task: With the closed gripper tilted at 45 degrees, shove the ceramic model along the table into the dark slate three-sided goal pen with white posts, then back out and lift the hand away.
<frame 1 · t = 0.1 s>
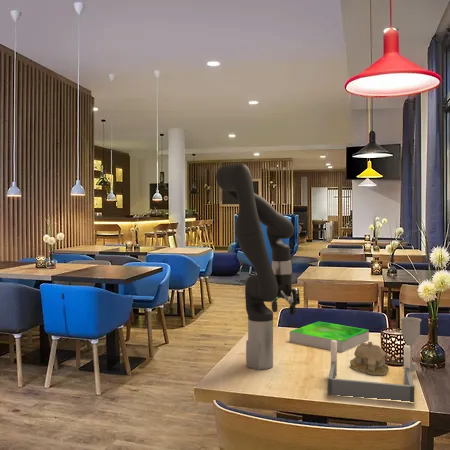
hand: (283, 313, 191), 17 cm above the table, tool pointing down, fingers open, 8 cm apart
goal pen: (369, 387, 160), on the table
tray: (329, 342, 217), on the table
ceramic model: (369, 370, 178), on the table
chalice: (410, 369, 179), on the table
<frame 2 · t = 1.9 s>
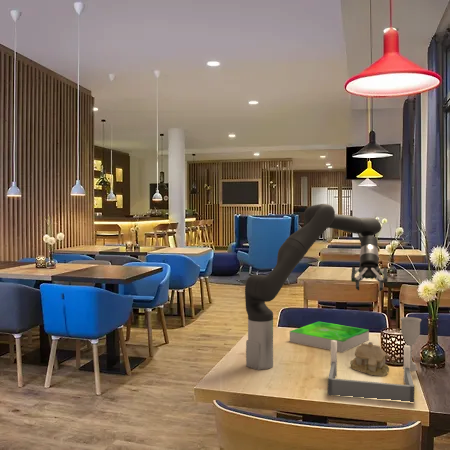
hand: (369, 289, 199), 25 cm above the table, tool tilted 45°, fingers open, 8 cm apart
nothing on the table moved.
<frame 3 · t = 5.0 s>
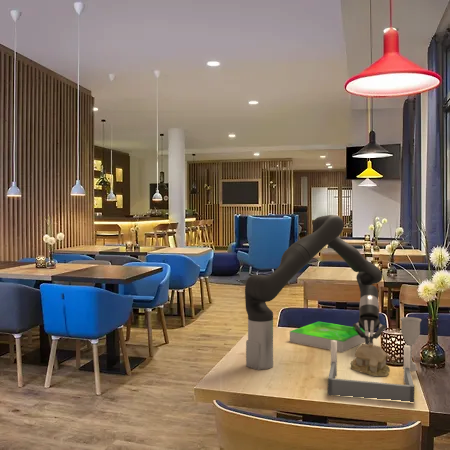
hand: (369, 346, 191), 5 cm above the table, tool tilted 45°, fingers closed
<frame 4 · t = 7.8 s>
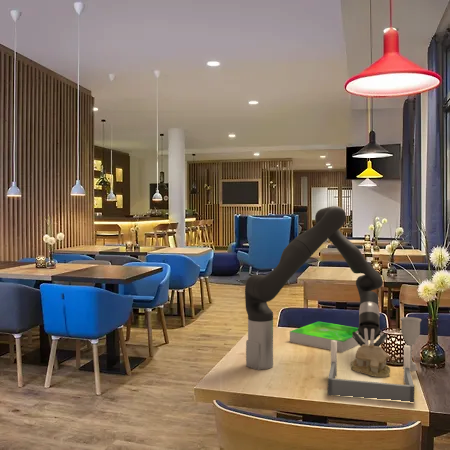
hand: (369, 356, 181), 4 cm above the table, tool tilted 45°, fingers closed
ceramic model: (370, 372, 176), on the table, touching gripper
everything else where it was.
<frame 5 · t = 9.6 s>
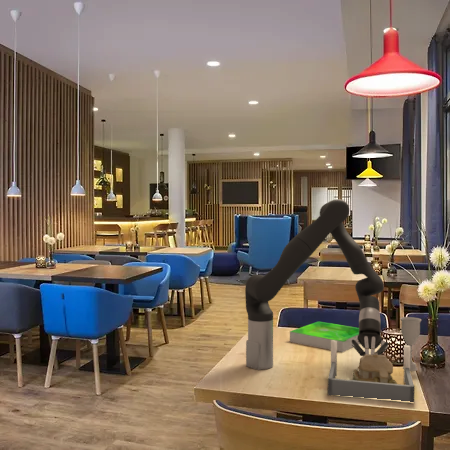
hand: (369, 366, 169), 4 cm above the table, tool tilted 45°, fingers closed
ceramic model: (374, 383, 165), on the table, touching gripper
everything else where it was.
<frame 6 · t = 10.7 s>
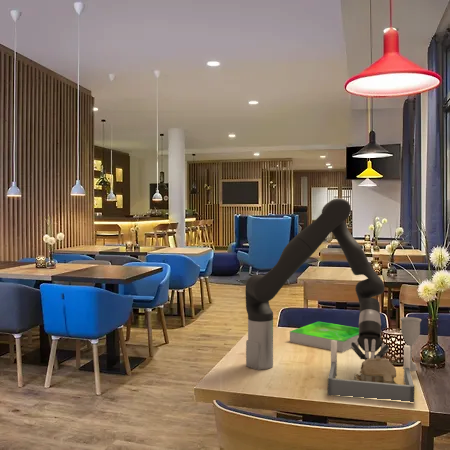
hand: (369, 370, 165), 4 cm above the table, tool tilted 45°, fingers closed
ceramic model: (377, 387, 161), on the table
everything else where it was.
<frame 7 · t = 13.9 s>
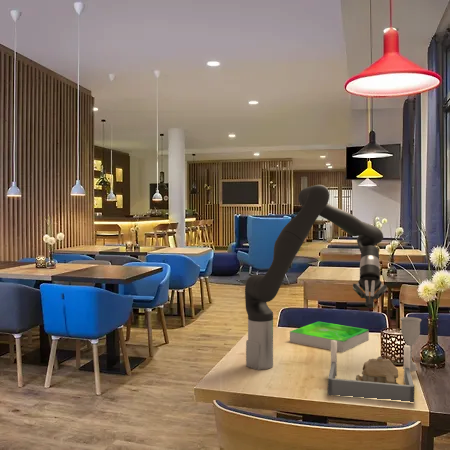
hand: (369, 306, 182), 22 cm above the table, tool tilted 45°, fingers closed
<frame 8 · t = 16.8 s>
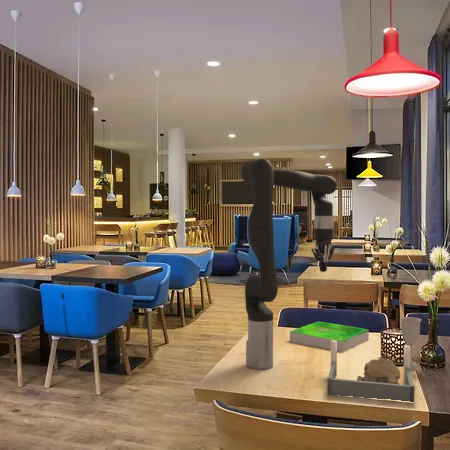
hand: (323, 271, 195), 33 cm above the table, tool pointing down, fingers closed
at the end: ceramic model 3.6 cm from the goal pen (horizontally); ceramic model tilted 0°; ceramic model moved 18.7 cm from its start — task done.
